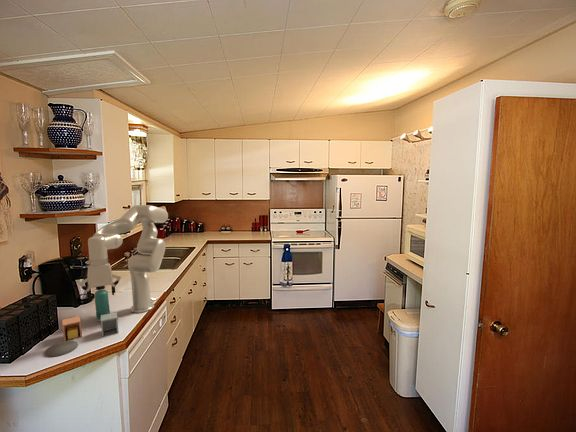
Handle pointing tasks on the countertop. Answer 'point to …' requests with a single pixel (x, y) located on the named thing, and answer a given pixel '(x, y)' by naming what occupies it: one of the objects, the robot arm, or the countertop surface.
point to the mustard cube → (72, 332)
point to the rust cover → (71, 325)
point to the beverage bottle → (101, 302)
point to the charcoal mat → (61, 348)
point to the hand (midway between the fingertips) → (101, 296)
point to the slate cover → (109, 322)
